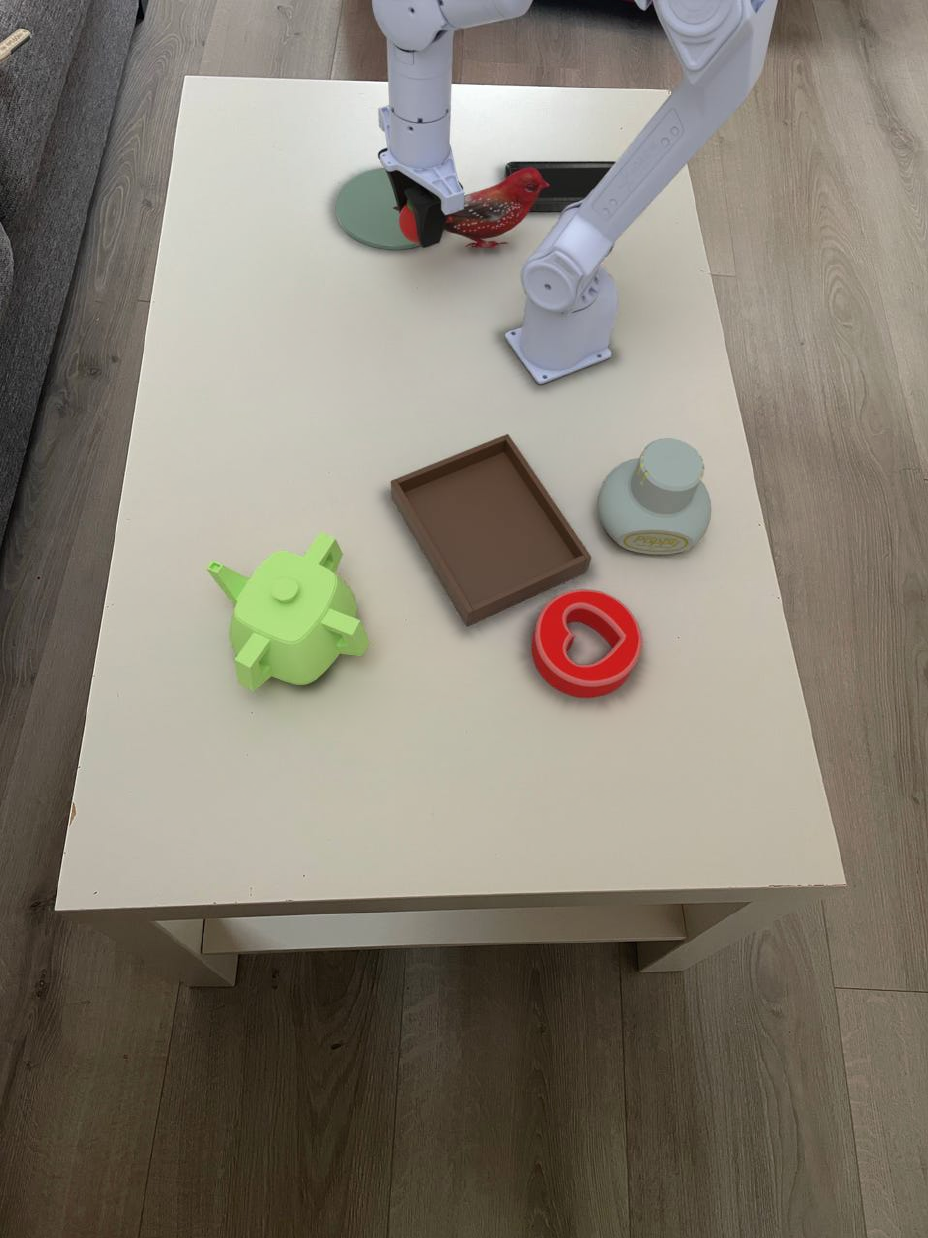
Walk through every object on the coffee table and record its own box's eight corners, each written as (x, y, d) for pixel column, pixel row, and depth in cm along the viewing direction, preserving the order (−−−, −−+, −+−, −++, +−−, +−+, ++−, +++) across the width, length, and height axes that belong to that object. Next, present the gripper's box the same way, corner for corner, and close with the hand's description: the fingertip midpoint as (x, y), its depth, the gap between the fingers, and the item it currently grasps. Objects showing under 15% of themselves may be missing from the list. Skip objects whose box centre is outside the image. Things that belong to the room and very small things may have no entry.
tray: (505, 450, 89) (508, 433, 86) (586, 571, 83) (591, 557, 80) (391, 497, 86) (390, 480, 83) (466, 626, 79) (468, 613, 77)
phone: (504, 161, 107) (622, 160, 108) (503, 169, 108) (620, 168, 109) (509, 203, 104) (631, 203, 105) (509, 211, 105) (629, 211, 106)
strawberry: (427, 219, 93) (427, 182, 88) (445, 244, 91) (446, 207, 87) (392, 231, 92) (391, 193, 87) (410, 256, 90) (409, 219, 86)
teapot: (343, 568, 82) (333, 511, 73) (379, 673, 77) (373, 625, 68) (221, 604, 80) (196, 549, 71) (251, 713, 75) (228, 670, 66)
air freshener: (698, 492, 87) (729, 430, 78) (703, 562, 84) (737, 505, 75) (592, 484, 87) (611, 421, 78) (592, 554, 84) (613, 495, 75)
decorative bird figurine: (543, 252, 102) (555, 176, 93) (395, 261, 100) (392, 185, 91) (539, 235, 103) (550, 158, 94) (393, 244, 101) (390, 167, 92)
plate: (419, 159, 109) (419, 154, 108) (471, 228, 103) (471, 224, 103) (317, 190, 105) (317, 185, 105) (365, 263, 100) (365, 259, 99)
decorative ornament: (652, 678, 78) (661, 664, 75) (556, 711, 76) (561, 699, 73) (608, 590, 82) (614, 574, 79) (515, 620, 80) (519, 605, 77)
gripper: (346, 70, 80) (356, 198, 92) (417, 163, 75) (417, 286, 87) (413, 51, 82) (414, 179, 94) (487, 141, 76) (478, 264, 89)
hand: (420, 229), depth 90 cm, fingers closed on strawberry, 4 cm apart
